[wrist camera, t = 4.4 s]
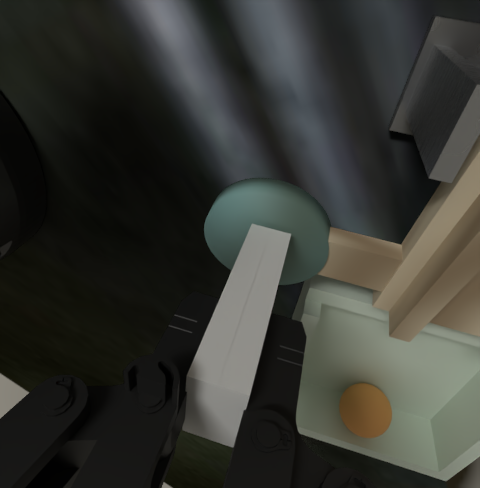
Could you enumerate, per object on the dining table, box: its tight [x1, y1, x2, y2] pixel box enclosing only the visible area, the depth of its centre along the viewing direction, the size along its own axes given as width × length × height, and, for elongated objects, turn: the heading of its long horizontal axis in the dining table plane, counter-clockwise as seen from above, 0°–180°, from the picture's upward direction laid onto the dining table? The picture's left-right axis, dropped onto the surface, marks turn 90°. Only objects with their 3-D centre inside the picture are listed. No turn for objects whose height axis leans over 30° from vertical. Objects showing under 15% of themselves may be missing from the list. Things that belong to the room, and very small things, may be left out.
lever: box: [204, 134, 480, 342], centre depth 9 cm, size 14×16×3 cm
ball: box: [339, 383, 392, 438], centre depth 23 cm, size 3×3×3 cm
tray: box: [292, 274, 480, 481], centre depth 21 cm, size 12×12×4 cm
